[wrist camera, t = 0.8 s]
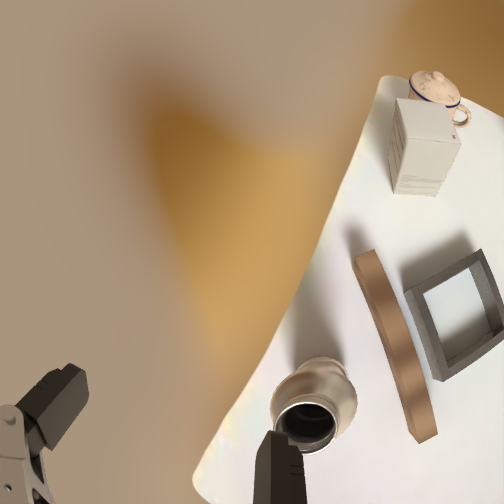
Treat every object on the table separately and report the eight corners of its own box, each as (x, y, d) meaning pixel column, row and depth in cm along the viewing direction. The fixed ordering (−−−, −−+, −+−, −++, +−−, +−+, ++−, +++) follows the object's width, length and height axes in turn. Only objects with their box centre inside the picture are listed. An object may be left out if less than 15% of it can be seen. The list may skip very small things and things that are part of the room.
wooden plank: (352, 268, 34) (355, 257, 29) (369, 261, 33) (374, 249, 29) (409, 431, 24) (419, 443, 20) (425, 423, 24) (437, 433, 19)
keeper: (403, 293, 31) (410, 288, 28) (470, 256, 29) (481, 248, 26) (433, 378, 26) (442, 382, 23) (499, 334, 24) (511, 332, 21)
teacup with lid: (399, 129, 38) (407, 77, 27) (408, 100, 39) (414, 53, 29) (460, 156, 33) (481, 109, 23) (463, 124, 34) (479, 79, 24)
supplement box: (427, 158, 35) (446, 102, 23) (435, 198, 33) (463, 145, 21) (386, 155, 37) (395, 95, 26) (391, 194, 35) (406, 138, 24)
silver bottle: (286, 369, 32) (229, 401, 14) (335, 345, 31) (338, 355, 13) (306, 411, 30) (271, 486, 11) (355, 389, 29) (380, 447, 11)
